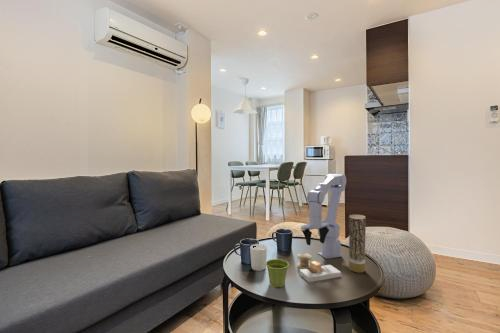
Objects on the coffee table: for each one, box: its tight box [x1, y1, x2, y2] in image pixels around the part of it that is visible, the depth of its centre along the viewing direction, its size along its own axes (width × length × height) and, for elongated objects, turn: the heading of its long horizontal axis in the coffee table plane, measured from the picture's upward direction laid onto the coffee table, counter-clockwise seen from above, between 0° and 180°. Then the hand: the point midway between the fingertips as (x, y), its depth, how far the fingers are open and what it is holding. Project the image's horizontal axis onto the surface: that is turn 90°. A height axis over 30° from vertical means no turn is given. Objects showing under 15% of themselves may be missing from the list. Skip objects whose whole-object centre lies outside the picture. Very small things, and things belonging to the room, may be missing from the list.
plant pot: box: [266, 258, 290, 288], centre depth 106 cm, size 9×9×9 cm
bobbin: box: [296, 252, 313, 271], centre depth 122 cm, size 7×7×5 cm
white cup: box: [249, 243, 268, 272], centre depth 121 cm, size 8×8×10 cm
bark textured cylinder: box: [348, 214, 367, 274], centre depth 118 cm, size 7×7×25 cm
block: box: [309, 260, 322, 274], centre depth 115 cm, size 3×4×5 cm
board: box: [299, 264, 342, 283], centre depth 114 cm, size 16×8×2 cm, turn 108°
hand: (315, 243), depth 124 cm, fingers open, 7 cm apart
